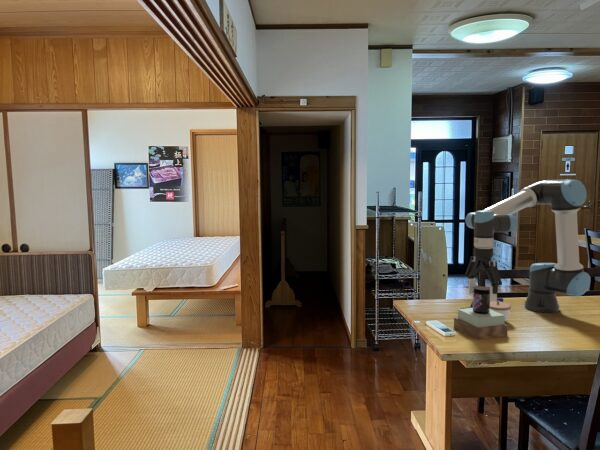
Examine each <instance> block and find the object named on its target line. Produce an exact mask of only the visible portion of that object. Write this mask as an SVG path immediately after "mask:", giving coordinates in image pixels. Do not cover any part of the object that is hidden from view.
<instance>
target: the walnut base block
mask: <svg viewBox="0 0 600 450" xmlns="http://www.w3.org/2000/svg"><path fill="white" fill-rule="evenodd" d="M508 326H509V325H508V324H506V323H504V325H497V326H488V327H479V328H477V327H475V326H473V325H471V324H469V323H467V322H465V321H463V320H461V319H459V318H458V316H457V317H453V328H454V329H455V330H458V331H460V332H461V333H464V334H466V335H467V336H469V337H471V338H473V339H475V340H479V339H489V338H497V337H499V338H500V337H507V336H508V330H509V329H508Z"/></svg>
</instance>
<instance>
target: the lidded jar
mask: <svg viewBox="0 0 600 450" xmlns="http://www.w3.org/2000/svg"><path fill="white" fill-rule="evenodd" d="M511 308H512V306H511V304H510V303H508V302H504V301H503V302H500V301H493V302H490V310H493V311H495V312H498V313H500V314H503V315H505V321H507V320H508V319H509V318H510V315H511V310H512V309H511Z"/></svg>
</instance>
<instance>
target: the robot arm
mask: <svg viewBox="0 0 600 450" xmlns="http://www.w3.org/2000/svg"><path fill="white" fill-rule="evenodd" d="M587 194H588V193H587V188H586V187H585V185H584V184H583V183H582V182H581V181H580V180H577V179H569V178H566V179H563V178H562V179H545V180H541V181H537V182H535V183H532V184H529V185H528V186H525V187H524V188H521V189H520V190H519V191H518V193H516V194H514V195H512V196H509V197H508V198H505V199H504V200H501V201H499V202H497V203H495V204H492V205H491V206H488V207H487V208H484V209H482V210H476V211H473V212H469V213H467V215H466V217H465V220H464V221H465V224H466V227H468V228H469V229H473V231H474V232H473V234H474V235H473V237H474V238H473V247H474V248H473V256H470V257H469V258H470V259H469V263H468V264H467V265H468V266H467V267H466V271H465V273H464V276H466V277H467V278H468V294H473V287H476V275H477V274H478V272H479V271H480V270H483V271H484V272H485V273H486V275H487V277H488V280H489V282H490V284H491V285H489V288H490V302H493V301H497V298H498V292H499V286H503V282H502V279H501V275H500V272H499V269H498V262H497V261H496V260H494V261H492V258H493V257H494V248H493V247H494V239H495V238H494V235H495V233H508V232H513V231H514V230H515V229H517V226H518V220H517V218H516V216H515V215H513V214H515V213H517V212H520V211H521V210H522V211H523V209H525V208H532V207H535V206H537V205H548V206H549V205H550V211H552V212H553V213H554V220H555V221H554V222H555V238H556V239H555V240H556V259H557V263H555V262H537V263H536V262H535V263H532V264H531V265H530V266H529V267H530V268H529V276H528V277H529V280H528V281H529V282H528V283H529V284H528V285H529V287H528V288H529V289H528V295H527V297H526V300H525V301H524V308H525V309H528V310H529V311H533V312H538V313H547V314H549V313H551V314H552V313H559V312H560V305H559V302H558V298H557V295H556V293H561V294H564V295H568V296H573V297H580V296H582V295H584V294H585V293H586V292H587V291H588V289H589V287H590V285H591V276H590V275H589V273H588V272H586V271H584V270H585V269H584V265H583V264H581V263H580V250H579V249H580V248H579V232H578V229H579V228H578V226H579V225H578V211H579V210H581V207H582V206H583V205H584V203H585V202H586V199H587Z"/></svg>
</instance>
